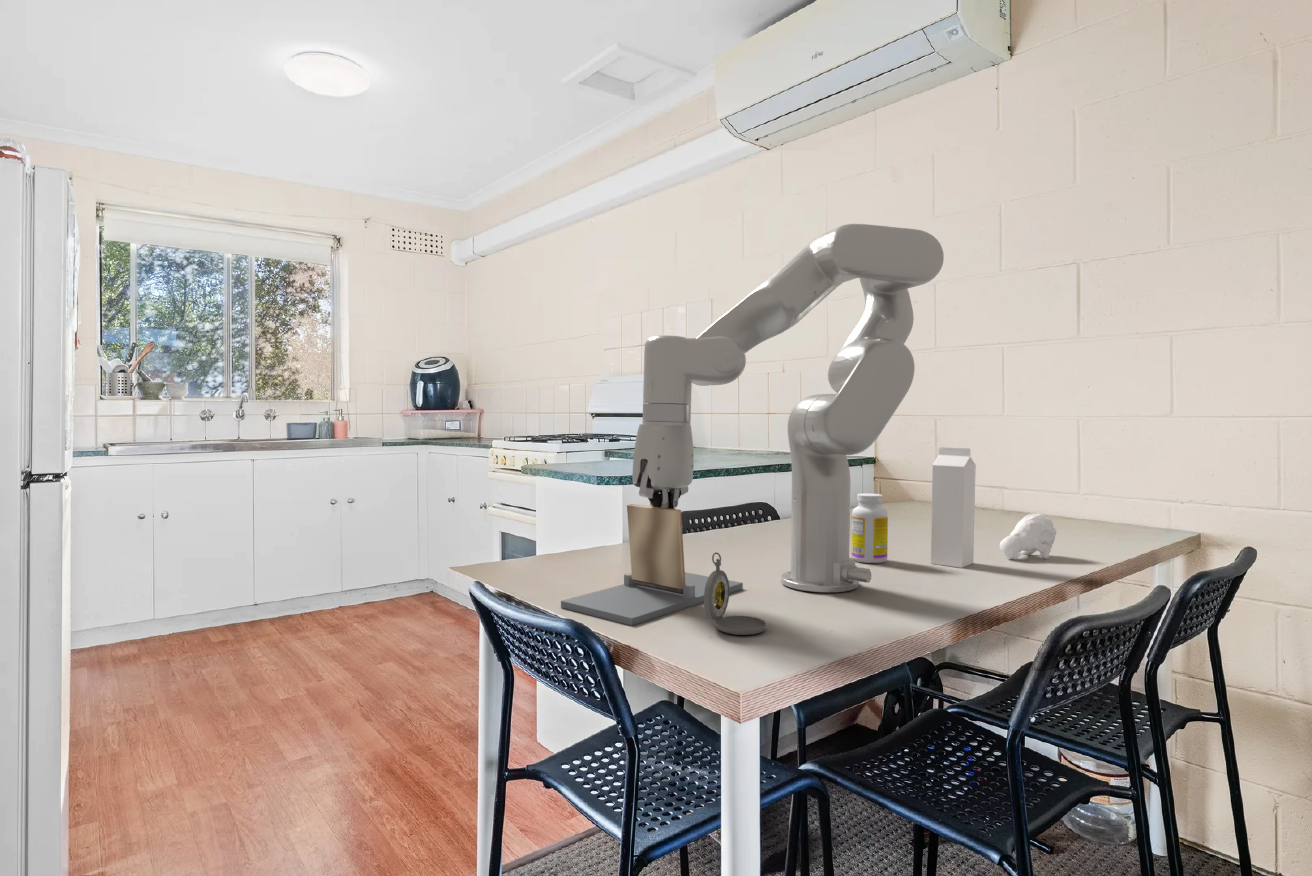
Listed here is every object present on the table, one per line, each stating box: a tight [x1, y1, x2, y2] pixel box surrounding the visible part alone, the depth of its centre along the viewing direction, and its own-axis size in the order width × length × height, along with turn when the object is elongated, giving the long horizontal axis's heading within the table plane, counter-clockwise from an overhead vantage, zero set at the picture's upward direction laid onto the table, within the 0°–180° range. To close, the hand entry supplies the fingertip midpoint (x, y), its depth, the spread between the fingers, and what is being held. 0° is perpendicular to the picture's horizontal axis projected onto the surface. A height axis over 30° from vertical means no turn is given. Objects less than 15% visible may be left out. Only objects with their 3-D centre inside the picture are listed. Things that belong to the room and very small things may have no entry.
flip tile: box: [626, 503, 686, 595], centre depth 116 cm, size 10×13×1 cm
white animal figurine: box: [999, 513, 1058, 561], centre depth 148 cm, size 6×8×12 cm
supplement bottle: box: [851, 492, 889, 564], centre depth 145 cm, size 7×7×13 cm
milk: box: [930, 446, 977, 569], centre depth 142 cm, size 6×6×22 cm
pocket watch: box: [703, 552, 767, 636], centre depth 100 cm, size 8×8×10 cm
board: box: [560, 572, 744, 627], centre depth 116 cm, size 14×27×3 cm, turn 140°
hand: (663, 532), depth 118 cm, fingers closed
